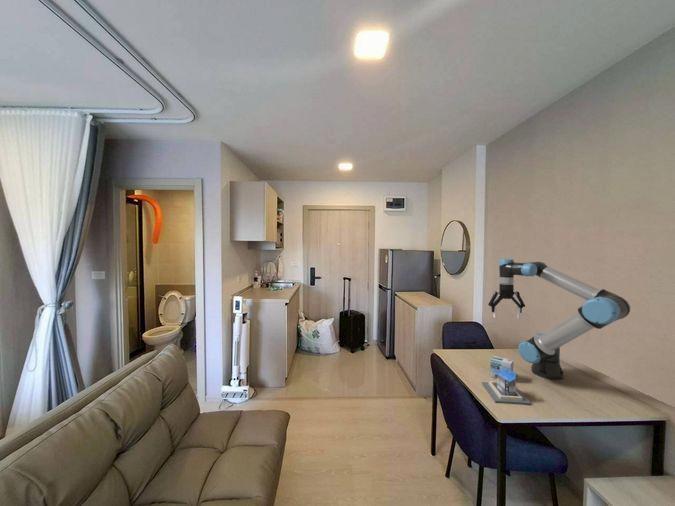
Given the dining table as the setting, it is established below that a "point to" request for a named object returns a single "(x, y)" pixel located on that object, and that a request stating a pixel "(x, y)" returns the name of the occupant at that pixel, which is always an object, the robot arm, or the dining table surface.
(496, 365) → the light bulb box
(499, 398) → the grey platform
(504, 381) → the label tape cartridge
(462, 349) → the dining table surface
